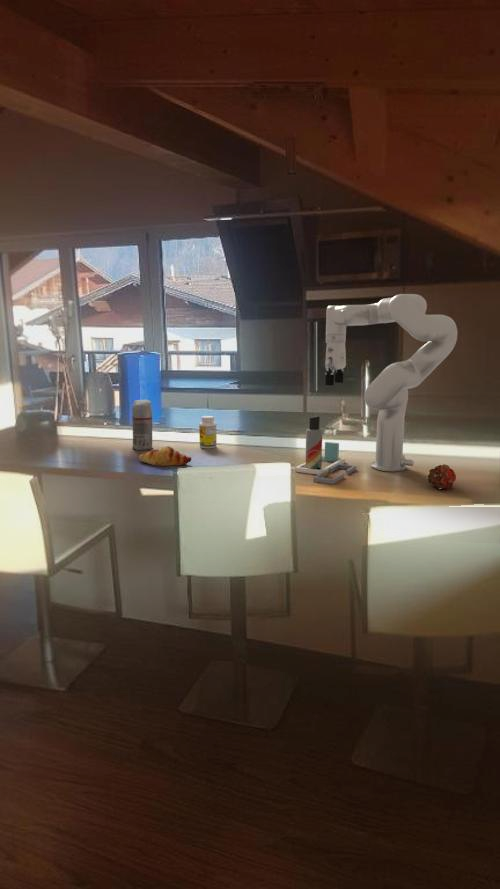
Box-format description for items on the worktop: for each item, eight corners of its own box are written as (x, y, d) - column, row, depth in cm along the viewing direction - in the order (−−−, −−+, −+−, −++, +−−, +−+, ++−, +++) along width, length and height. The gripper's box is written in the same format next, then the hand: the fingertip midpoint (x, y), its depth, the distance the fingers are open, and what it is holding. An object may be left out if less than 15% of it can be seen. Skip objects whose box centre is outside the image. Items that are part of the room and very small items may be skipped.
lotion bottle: (316, 474, 236) (317, 417, 232) (302, 471, 239) (303, 416, 235) (324, 470, 240) (325, 415, 236) (310, 468, 243) (311, 414, 239)
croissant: (136, 472, 252) (130, 456, 247) (145, 455, 259) (140, 438, 254) (189, 475, 246) (184, 458, 241) (197, 457, 253) (193, 441, 249)
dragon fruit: (436, 497, 213) (439, 493, 224) (460, 484, 210) (462, 480, 222) (421, 474, 214) (425, 471, 226) (445, 461, 212) (448, 458, 223)
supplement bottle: (198, 445, 281) (198, 415, 279) (215, 445, 283) (215, 414, 280) (200, 449, 275) (200, 418, 272) (217, 448, 276) (217, 417, 273)
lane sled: (345, 462, 253) (345, 443, 252) (322, 475, 234) (323, 455, 232) (319, 458, 258) (319, 441, 257) (295, 471, 239) (295, 452, 237)
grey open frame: (355, 469, 242) (356, 465, 241) (333, 484, 223) (333, 479, 222) (337, 467, 245) (337, 463, 245) (313, 481, 226) (313, 477, 226)
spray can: (157, 447, 277) (156, 399, 273) (144, 451, 270) (142, 402, 266) (142, 445, 282) (140, 398, 277) (128, 449, 275) (126, 400, 271)
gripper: (336, 340, 245) (335, 387, 249) (353, 337, 260) (351, 382, 263) (317, 339, 248) (316, 385, 252) (334, 337, 263) (333, 381, 267)
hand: (334, 383), depth 258 cm, fingers open, 9 cm apart
